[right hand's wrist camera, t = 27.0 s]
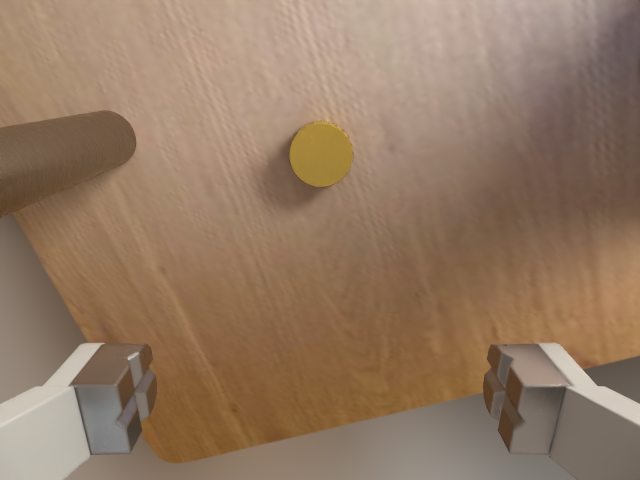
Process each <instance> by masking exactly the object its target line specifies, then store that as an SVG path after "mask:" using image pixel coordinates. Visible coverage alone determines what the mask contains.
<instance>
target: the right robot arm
mask: <svg viewBox="0 0 640 480" xmlns="http://www.w3.org/2000/svg"><path fill="white" fill-rule="evenodd" d="M152 360H153V357H152V352H151V347H150V346H149V345H148V344H128V343H84V344H81V345H79V346H78V348H77V349H76V350H75V351H74V352H73V353H72V354H71V355H70V356H69V358H68V359H67V360H66V361H65V362H64V363H63V364H62V365H61V367H60V368H59V369H58V370H57V371H56V372H55V373H54V374H53V375H52V377H51V378H50V379H49V380H48V381H47V382H46V383H45V384H44V385H43V386H42V387H41V386H40V387H34V388H32V389H29V390H27V391H25V392H23V393H21V394H19V395H17V396H15V397H13V398H11V399H9V400H7V401H5V402H3V403H1V404H0V480H64V479H65V478H66V477H67V476H69V475H70V474H71V473H72V472H73V471H75V470H76V469H77V468H78V467H79V466H81V465H82V464H83V463H84V462H85V461H87V460H88V459H89V458H90V457H91V455H103V454H130V453H131V451H132V449H133V447H134V445H135V443H136V441H137V439H138V437H139V435H140V433H141V431H142V427H141V421H142V420H144V419H145V418H147V417H148V416H149V415H150V413H151V411H152V409H153V407H154V403H155V399H156V394H157V381H156V375H155V374H154V373H153V372H152V371H151V370H150V369H149V368H148V367H149V365H150V364H151V362H152ZM487 360H488V362H489V364H490V365H491V367H492V368H491V369H490V370H489V371H488V372H487V373H486V374H485V375H484V383H483V392H484V400H485V403H486V407H487V409H488V411H489V413H490V415H491V416H492V417H493V418H495V419H496V420H498V421H499V427H498V431H499V433H500V435H501V437H502V439H503V441H504V443H505V445H506V447H507V449H508V451H509V453H510V454H535V455H549V457H550V458H551V459H552V460H554V461H555V462H556V463H557V464H558V465H560V466H561V467H562V468H563V469H564V470H566V471H567V472H568V473H569V474H570V475H572V476H573V477H574V478H575V479H576V480H640V404H639V403H637V402H635V401H633V400H631V399H629V398H627V397H625V396H623V395H621V394H619V393H616V392H615V391H613V390H610V389H608V388H606V387H599V386H597V385H596V384H595V383H594V382H593V381H592V380H591V379H590V378H589V376H588V375H587V374H586V373H585V372H584V371H583V370H582V369H581V368H580V366H579V365H578V364H577V363H576V362H575V361H574V360H573V359H572V358H571V356H570V355H569V354H568V353H567V352H566V351H565V350H564V349H563V348H562V346H561V345H559V344H557V343H534V344H491V346H490V348H489V351H488V357H487Z"/></svg>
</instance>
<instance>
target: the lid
mask: <svg viewBox="0 0 640 480" xmlns="http://www.w3.org/2000/svg"><path fill="white" fill-rule="evenodd" d="M293 138H294V139H293V141H292V142H291V144H290V146H291V147H290V151H289V158H290V160H289V161H290V163H291V167H292V169H293V171H294V173H295V174H296V175H297V176H298V177H299V178H300V179H301V180H302V181H303V182H305V183H307V184H309V185H312V186H316V187H327V186H331V185H333V184H335V183H337V182H339V181H340V180H341V179H342V178H344V177H345V175H346V174H347V173H348V171H349V169H350V167H351V164H352V159H353V151H352V147H351V146H352V144H351V143H350V141H349V137H348V135H346V134H345V133H344V130H343V129H340V128H339V127H338V126H337V125H334V124H332V123H330V122H324V121H322V120H321V121H319V122H314V121H313V123H310V124H308V125H307V124H306V125H305V126H304V127H303V128H302V129H299V131H298V133H297V134H296V135H294V137H293Z"/></svg>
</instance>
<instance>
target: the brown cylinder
mask: <svg viewBox="0 0 640 480" xmlns="http://www.w3.org/2000/svg"><path fill="white" fill-rule="evenodd" d="M135 147H136V137H135V133H134V131H133V129H132V127H131V125H130V124H129V123H128V122H127V120H126V119H124V118H123V117H122V116H120V115H119V114H117V113H114V112H111V111H98V112H92V113H86V114H79V115H73V116H67V117H61V118H55V119H49V120H43V121H37V122H31V123H25V124H19V125H13V126H7V127H1V128H0V218H1V217H3V216H6V215H8V214H10V213H12V212H15V211H17V210H19V209H21V208H24V207H26V206H28V205H30V204H32V203H35V202H37V201H39V200H41V199H44V198H46V197H48V196H50V195H53V194H55V193H57V192H59V191H62V190H64V189H66V188H68V187H70V186H73V185H75V184H77V183H79V182H82V181H84V180H86V179H88V178H91V177H93V176H95V175H97V174H100V173H102V172H104V171H106V170H109V169H111V168H113V167H115V166H117V165H120V164H122V163H124V162H126V161H127V160H129V159H130V158H131V156H132V155H133V153H134V151H135Z"/></svg>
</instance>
